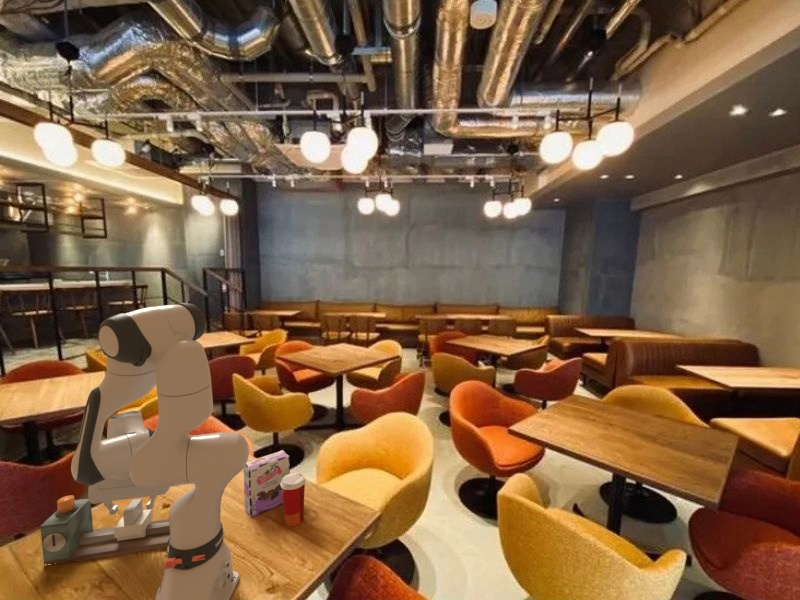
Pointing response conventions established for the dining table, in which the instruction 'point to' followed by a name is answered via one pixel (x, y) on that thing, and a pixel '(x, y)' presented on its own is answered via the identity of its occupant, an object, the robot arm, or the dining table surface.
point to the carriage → (133, 521)
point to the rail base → (118, 546)
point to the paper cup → (293, 498)
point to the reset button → (66, 504)
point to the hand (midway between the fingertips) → (132, 510)
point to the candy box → (265, 482)
